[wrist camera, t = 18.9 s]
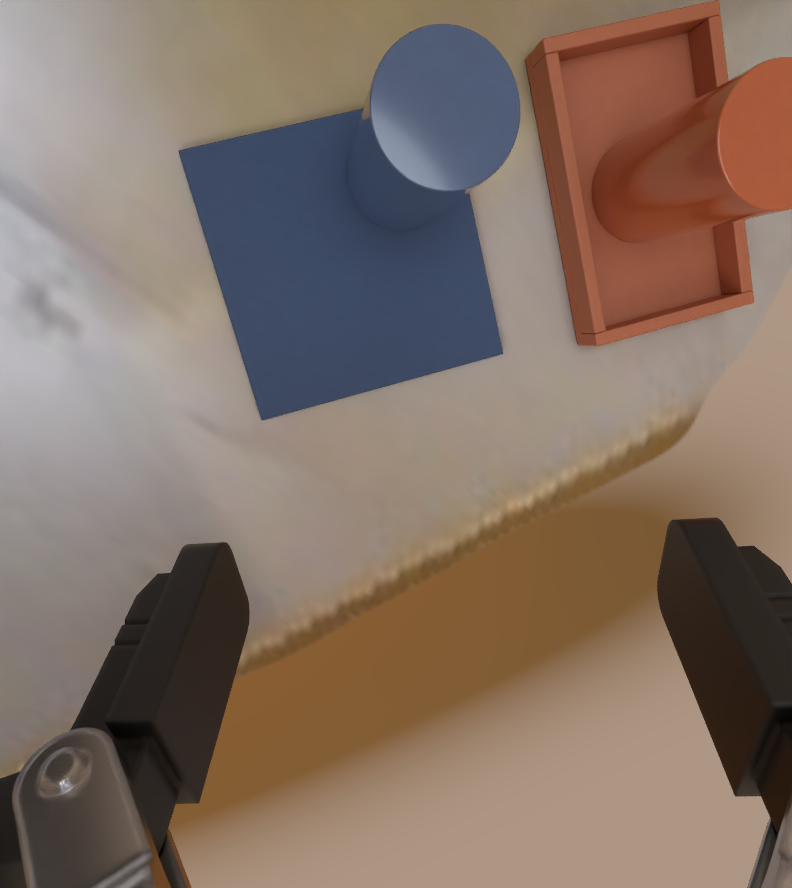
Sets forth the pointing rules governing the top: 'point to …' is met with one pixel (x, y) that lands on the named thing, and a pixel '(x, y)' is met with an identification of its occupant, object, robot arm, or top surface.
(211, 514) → the top surface
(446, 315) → the blue mat
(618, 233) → the terracotta cylinder
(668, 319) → the terracotta tray
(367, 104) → the blue cylinder
